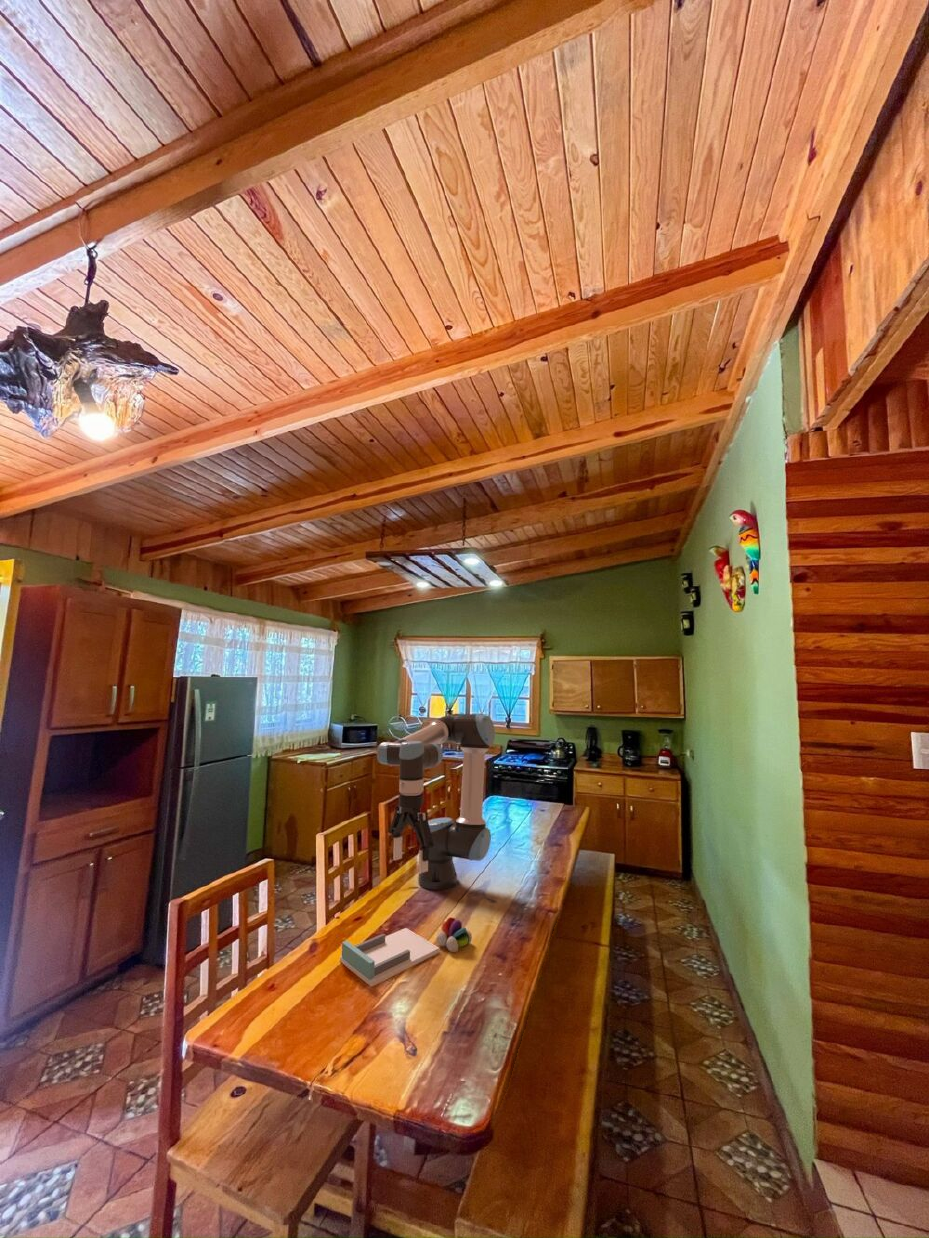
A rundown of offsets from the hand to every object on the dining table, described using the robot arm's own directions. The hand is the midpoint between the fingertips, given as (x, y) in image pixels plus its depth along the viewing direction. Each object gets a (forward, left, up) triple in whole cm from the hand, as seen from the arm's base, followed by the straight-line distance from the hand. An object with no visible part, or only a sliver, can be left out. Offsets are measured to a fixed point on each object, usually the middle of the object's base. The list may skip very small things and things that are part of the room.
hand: (410, 865), depth 147 cm
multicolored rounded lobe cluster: (-9, +10, -22) cm, 26 cm away
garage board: (+8, +2, -22) cm, 24 cm away
